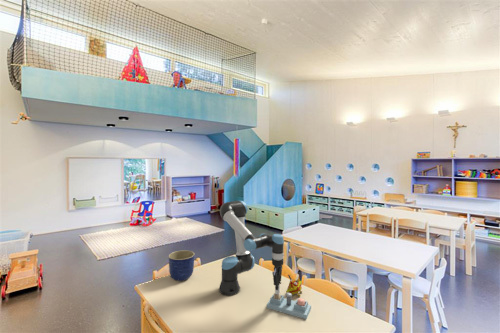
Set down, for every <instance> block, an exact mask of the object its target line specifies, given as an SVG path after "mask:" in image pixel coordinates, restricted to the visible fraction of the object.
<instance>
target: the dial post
mask: <svg viewBox="0 0 500 333" xmlns="http://www.w3.org/2000/svg"><path fill="white" fill-rule="evenodd" d="M285 296H286V299H287V306H291V300H292V296H293V295H292V294H291V293H289V292H286V293H285Z"/></svg>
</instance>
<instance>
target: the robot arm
mask: <svg viewBox="0 0 500 333" xmlns="http://www.w3.org/2000/svg"><path fill="white" fill-rule="evenodd" d="M248 212H249V208H248V205H247V203H246V202H245V201H244V200H234V201H226V202H223V204H222V205H221V206H220V208H219V214H220V217H221V219H222V220H223V221H224V222H227V223H228V225H229V226H230V227H231V229H232V230H234V234H235V235H234V236H235V244H236V245H235V246H236V253H235V256H233V255H231V256H230V255H229V256H226V257H224V258H223V259H222V261H221V281H220V284H219V288H218V289H219V291H218V292H219V293H220V295H223V296H234V295H237V294H238V293H240V291H241V290H240V288H241V287H240V284H239V280H238V275H239V274H242V273H246V272H249V271H251V270H252V269H254V267H255V264H256V260H255V257H254V256H253V254H252V253H251V251H252V252H253V251H255V250H258V249H263V248H265V247H268V248H271V264H272V265H273V271H272V277H273V278H272V280H273V285H274V293H275V294H277V295H279V294H281V293H280V292H281V287H280V286H281V285H282V274H283V265H284V256H285V254H284V245H285V244H284V242H285V240H284V236H283V235H282V234H281V233H274V234H272V235H270V234H268V233H260V235H258V236H255V235H254V234H253V233H252V232H251V231H250V230H249V229H248V227H246V224H245V219H246V216H247V214H248Z"/></svg>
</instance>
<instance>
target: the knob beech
mask: <svg viewBox="0 0 500 333" xmlns="http://www.w3.org/2000/svg"><path fill="white" fill-rule="evenodd" d="M273 294H274V299H278V300H280V299H281V295H282V294H281V293H280V294H279V295H277V294H275V292H274V293H273Z"/></svg>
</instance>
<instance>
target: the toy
mask: <svg viewBox="0 0 500 333" xmlns="http://www.w3.org/2000/svg"><path fill="white" fill-rule="evenodd" d="M287 276H288V278H289V283H288V286H287V289H286V293H291V294H292V296H293V295H296V294H297V297H301V294H303V290H302V289H303V288H302V282H303V281H302V280H300V278H297V280H296V279H295V280H294V279H292V277H291V275H290V274H287ZM301 290H302V291H301ZM299 293H300V294H299Z"/></svg>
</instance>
